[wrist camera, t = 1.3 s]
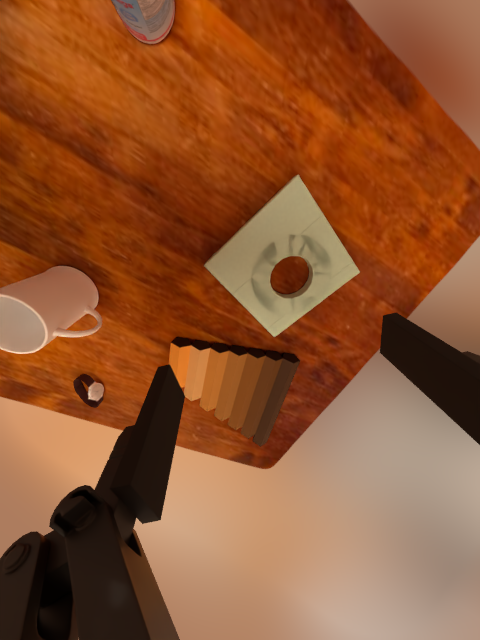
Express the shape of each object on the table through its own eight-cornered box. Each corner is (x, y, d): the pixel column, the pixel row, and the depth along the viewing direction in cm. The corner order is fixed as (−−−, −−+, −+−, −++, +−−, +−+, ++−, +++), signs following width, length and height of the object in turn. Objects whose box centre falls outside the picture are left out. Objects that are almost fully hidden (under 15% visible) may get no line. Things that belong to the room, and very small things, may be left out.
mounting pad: (204, 263, 36) (203, 265, 34) (294, 176, 31) (298, 174, 30) (272, 332, 43) (274, 337, 41) (353, 269, 38) (360, 272, 36)
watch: (110, 397, 48) (102, 411, 44) (89, 401, 48) (79, 415, 44) (96, 369, 44) (86, 382, 41) (72, 373, 44) (60, 386, 41)
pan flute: (265, 434, 56) (297, 354, 46) (267, 447, 53) (302, 364, 43) (164, 425, 52) (173, 336, 42) (160, 439, 49) (169, 346, 39)
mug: (125, 293, 37) (87, 327, 27) (108, 330, 40) (67, 375, 30) (49, 254, 34) (-30, 276, 23) (36, 299, 37) (-39, 336, 26)
